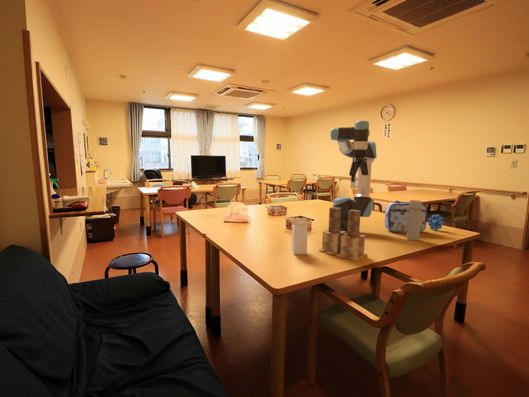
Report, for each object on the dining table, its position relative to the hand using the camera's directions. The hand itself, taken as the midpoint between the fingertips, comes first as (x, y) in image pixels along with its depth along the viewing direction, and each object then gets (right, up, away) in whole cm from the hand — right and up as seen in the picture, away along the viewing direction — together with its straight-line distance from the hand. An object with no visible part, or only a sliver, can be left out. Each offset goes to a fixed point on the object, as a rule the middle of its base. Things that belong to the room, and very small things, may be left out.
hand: (358, 187), depth 163 cm
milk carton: (-35, -36, -8) cm, 51 cm away
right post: (-8, -36, -13) cm, 39 cm away
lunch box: (+45, -30, +38) cm, 66 cm away
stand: (-12, -36, -9) cm, 39 cm away
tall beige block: (+40, -33, +18) cm, 55 cm away
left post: (-16, -34, -6) cm, 38 cm away
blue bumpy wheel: (+70, -30, +42) cm, 87 cm away
